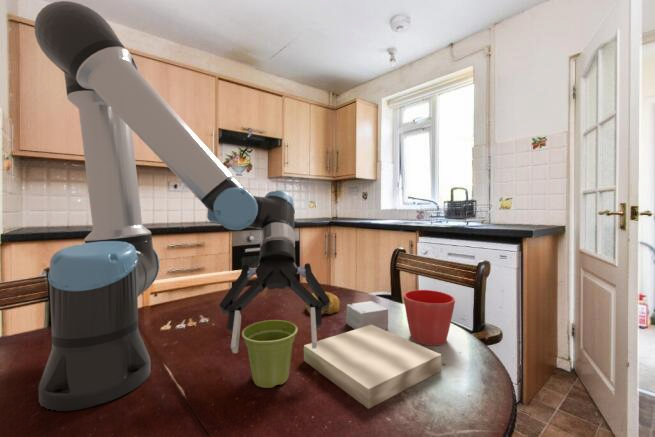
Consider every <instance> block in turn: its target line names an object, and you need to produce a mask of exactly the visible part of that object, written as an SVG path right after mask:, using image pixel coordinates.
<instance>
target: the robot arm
mask: <svg viewBox="0 0 655 437" xmlns="http://www.w3.org/2000/svg"><path fill="white" fill-rule="evenodd" d="M34 36H35V39H36V41H37V44H38V45H39V47H40V50H41V51H42V52H43V54H44V55H45V56H46V58H47V59H49V60H50V62H52V63H53V64H54V65H55V66H56V67H57V68H58V69H59V70H61V71H62V72H63V74H64V80H65V81H64V82H65V89H66V90H65V91H66V96H67V101H69V103H71V104H72V105H74V107H76V108H77V109H78V115H79V116H78V117H79V122H80V130H81V138H82V139H81V140H82V149H83V157H84V163H85V164H84V165H85V174H86V182H87V190H88V198H89V206H90V216H91V217H90V218H91V223H92V230H91V231H90V233H88V235H86V237H84V243H82V244H75V245H71V246H67V247H64V248H61V249H60V250H58V251H56V252H55V253H54V254H53V255H52V256H51V258H50V262H49V270H48V273H47V274H48V275H47V277H48V278H47V280H48V283H49V299H50V304H49V305H50V322H51V351H50V353H49V357H48V359H47V362H46V364H45V367H44V370H43V373H42V376H41V377H40V378H41V379H40V381H39V384H38V390H37V391H38V403H40V404H39V405H40V407H42V406H43V407H45V408H48V409H51V410H50V411H53V410H56V411H55V412H69V411H70V412H71V411H77V410H83V409H88V408H92V407H96V406H99V405H102V404H106V403H108V402H111V401H114V400H115V399H116V400H117V399H118V398H121V397H122V396H125V395H126V394H128V393H130V392H132V391H134V390H136V388H138V387H139V386H141V385H142V384H143V383H144V382H146V380H147V379H148V378H149V377H150V374H151V368H152V367H151V356H150V355H149V354H150V353H149V352H148V349H147V346H146V345H145V342H144V340H143V338H142V336H141V333H140V331H139V308H138V307H139V304H138V302H139V301H138V298H139V296H140V295H141V294H143V293H144V292H146V291H147V290H148V289H149V288H150V287H151V286H152V284H154V282H155V281H156V278H157V276H158V274H159V271H160V258H159V255H158V253H157V251H156V250H155V249H154V245H153V237H152V236H153V235H152V232H151V230H149V229H148V228H146V227H145V226H144V224H143V220H142V219H143V218H142V210H141V201H140V191H139V183H138V173H137V172H138V171H137V166H136V156H135V146H134V136H133V133H135V134H136V135H137V136H138V138H140V140H141V141H142V142H143V143H144V144H145V145H146V146H147V147H148V148H149V149H150V150H151V151H152V152H153V154H154V155H156V156H157V157H158V158H159V159H160V160H161V162H163V164H165V166H166V167H167V168H168V169H170V171H171V172H172V173H173V174H174V175H175V176H176V177H177V178H178V179H179V180H180V181H181V182H182V183H183V184H184V185H185V187H187V188H188V190H189V191H190V192H191V193H192V194H193V195H194V196H195V197H196V198H197V199H198V200H199V201H200V202H201V203H202V204H203V205H204V207H205V208H206V209H207V214H206V218H207V221H209V222H211V223H217V224H219V225H221V226H222V227H224V228H225V229H227V230H229V231H230V230H231V231H241V230H244V229H247V228H252V229H258V230H261V231H260V248H259V257H258V258H259V259H258V266H257V267H249V265H247V264H243V265H242V267H241V272H240V275H239V276H238V277H237V279H236V280H235V281H234V283H233V285H232V286H231V287H230V289H229V290H228V292H227V293H226V295H225V296H224V298H222V300H221V302H219V308H220V311H221V313H222V314H223V315H224V314H225V315H226V314H227V315H228V318H227V324H226V326H227V330H228V332H229V333H231V334H232V337H231V342H230V349H231V351H232V354H238V352H239V343H240V333H241V324H242V313H241V312H242V311H243V310H244V309H245V308H246V307H247V306H248V305H249V303H251V302H252V301H253V300H254V299H255V298H256V297H257V296H258V295H259V294H260V293H262V292H264V291H265V290H266V289H268V290H274V289H281V290H283V289H285V288H287V287H288V288H289V289H290V290H291V292H294V293H295V294H296V295H297V296H298V297H299V298H300V299H301V300H302V301H303V302H304V303H305V305H306V304H307V305H308V306H309V307H310V308H311V312H310V314H309V315H310V329H311V330H310V332H311V333H310V334H311V343H312V349H313V348H316V347H317V341H318V336H317V335H318V334H317V333H318V332H317V329H321V327H322V325H323V318H322V317H323V316H322V315H321V311H322V310H324V309H328V308H329V304H330V299H329V298H328V296H327V295H326V293H325V292H326V291H325V290H324V289H323V287H322V286H321V284H320V283H319V281H318V280H317V278H316V276H315V275H314V273H313V271H312V268H311V264H310V263H309V262H306V263H305V264H304V265H303V266H297V264H296V248H295V247H296V233H295V212H296V211H295V203H294V199H293V197H292V196H291V194H289V193H288V192H286V191H284V190H278V189H277V190H275V191H269V192H267V193H266V194H265V196H258V195H257V196H256V195H253V194H252V193H251V192H250V191H249V190H247V189H245V187H244V186H243V185H242V184H241V182H239V181H238V179H236V178H235V176H233V174H232V173H231V172H230V171H229V169H228V168H227V166H225V165H224V164H223V163H222V162H221V161H220V159H218V158H217V156H216V155H215V154H214V153H213V152H212V151H211V150H210V149H209V148H208V147H207V145H206V144H205V143H204V142H203V141H202V139H200V137H199V136H198V135H197V134H196V133H195V132H194V131H193V130H192V129H191V127H189V125H188V124H187V123H186V122H185V121H184V120H183V119H182V117H180V115H179V114H178V113H177V112H176V111H175V110H174V108H172V107H171V106H170V104H169V103H168V102H167V101H166V100H165V99H164V98H163V97H162V95H160V93H159V92H158V91H157V90H156V89H155V87H153V85H152V84H151V83H149V81H148V80H147V79H146V78H145V77H144V75H143V74H142V73H140V71H139V69H138V67H137V64H136V61H135V60H134V58H133V57H132V55H131V53H130V52H129V50H128V49H127V48H126V47H125V46H124V44H123V43H122V42H121V39H119V37H118V35H117V34H116V32H115V31H114V29H113V28H112V27H111V25H110V23H108V22H107V20H106V19H105V18H103V16H102V15H100V14H99V13H98V12H97V11H95V10H93V9H92V8H90V7H88V6H86V5H84V4H81V3H78V2H74V1H65V0H61V1H54V2H51V3H49V4H47V5H45V6H44V7H42V9H41V10H40V11H39V12H38V13H37V15H36V18H35V20H34ZM298 274H299V275H300V276H301V277H302V278H304V279H305V281H306V282H307V283H306V284H308V287H309V288H310V289H311V291H312V293H314V294H315V296H316V297H317V299H318V300H319V301H318V300H317V299H316V298H315V297H314V296H313V295H312V293H311V291H310V290H308V289H307V288H306V287H305V286H304V285H303V284H302V283H301V282H300V281H299V279H298V278H297V276H298ZM254 276H256V277H257V278H256V279H255V280H254V282H253V284H251V285H250V286H249V287H248V288H247V289H246V290H245V291H244V288H245V287H246V286H247V284H248V283H249V280H251V279H252V278H253V277H254ZM285 290H286V289H285ZM242 291H244V292H242ZM43 407H42V408H43ZM45 408H44V409H45ZM48 409H47V410H48Z"/></svg>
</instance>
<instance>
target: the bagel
mask: <svg viewBox="0 0 655 437" xmlns="http://www.w3.org/2000/svg"><path fill="white" fill-rule="evenodd" d="M324 292H325V293H326V295H327V296H328V298H329V299H330V304H329V308H328V309H324V310H322V311H321V316H322V315H327V314H328V315H332V314H335V313H338V312H339V310H340V305H341V302H340V299H339V297H338V296H337V295H335V294H333V293H331V292H329V291H324ZM311 294H312V295H313V296H314V297H315V298H316V299H317V297H316V296H315V294H314V292H312V293H311ZM317 300H318V299H317ZM318 301H319V300H318ZM304 307H305V310H307V312H308V313H309V315H310V312H311V308H310V307H309V306H308V305H307V304H306V303H305V306H304Z"/></svg>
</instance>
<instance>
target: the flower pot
mask: <svg viewBox="0 0 655 437" xmlns="http://www.w3.org/2000/svg"><path fill="white" fill-rule="evenodd" d="M403 302H404V307H405V315H406V320H407V325H408V330H409V335H410V338H411V339H412V340H413V342H415V343H417V344H420V345H421V344H422V345H426V346H436V345H437V346H441V345H444V344H445V343H446V342H447V340H448V335H449V332H450V326H451V322H452V317H453V313H454V309H455V303H456V298H455V297H454V296H452V295H451V294H448V293H445V292H441V291H437V290H431V289H430V290H429V289H413V290H409V291H407V292H405V293H403Z"/></svg>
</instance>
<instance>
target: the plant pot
mask: <svg viewBox="0 0 655 437" xmlns="http://www.w3.org/2000/svg"><path fill="white" fill-rule="evenodd" d="M298 330H299V328H298V326H297V325H296V324H295V323H294V322H292V321H288V320H283V319H282V320H281V319H268V320H262V321H261V320H260V321H256V322H254V323H252V324H249V325H247V326H245V327H244V328H243V330H242V331H241V336H242V338H243V340H244V343H245V345H246V348H247V353H248V359H249V360H248V361H249V364H250V371H251V377H252V381H253V382H254V384H255V385H256V386H257V387H260V388H263V389H265V388H266V389H268V388H269V389H270V388H271V389H272V388H274V387H276V386H278V385H283V384H285V383H286V382H287V381H288V379H289V376H290V368H291V360H292V351H293V344H294V341H295V337H296V335H297V333H298Z"/></svg>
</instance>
